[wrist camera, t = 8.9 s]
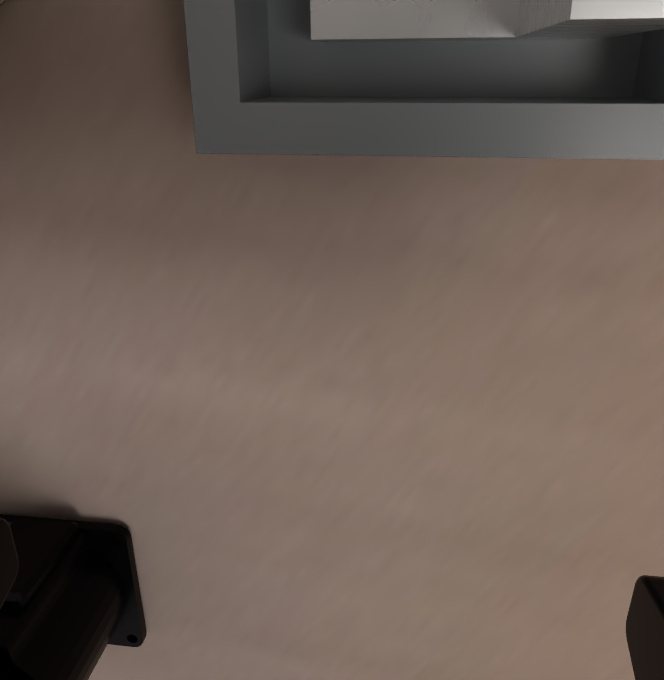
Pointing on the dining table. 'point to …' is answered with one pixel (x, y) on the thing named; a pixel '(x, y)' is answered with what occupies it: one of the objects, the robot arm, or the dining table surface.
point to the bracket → (480, 19)
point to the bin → (416, 91)
